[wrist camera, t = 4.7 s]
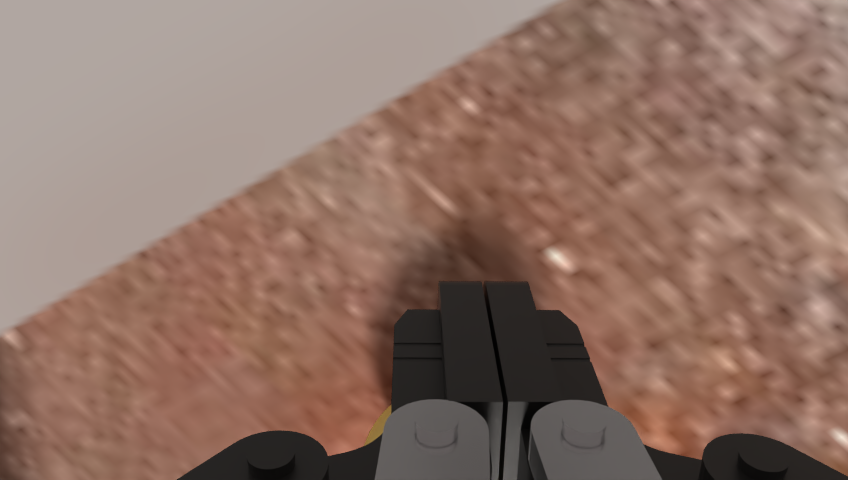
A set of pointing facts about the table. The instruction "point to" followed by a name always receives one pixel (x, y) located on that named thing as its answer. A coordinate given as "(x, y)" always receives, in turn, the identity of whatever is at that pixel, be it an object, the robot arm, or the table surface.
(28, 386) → the table surface
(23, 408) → the table surface
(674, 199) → the table surface
